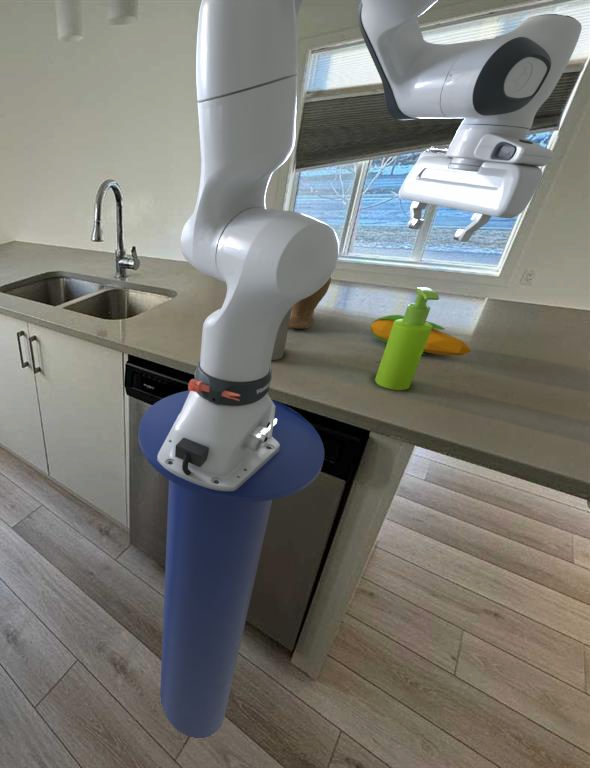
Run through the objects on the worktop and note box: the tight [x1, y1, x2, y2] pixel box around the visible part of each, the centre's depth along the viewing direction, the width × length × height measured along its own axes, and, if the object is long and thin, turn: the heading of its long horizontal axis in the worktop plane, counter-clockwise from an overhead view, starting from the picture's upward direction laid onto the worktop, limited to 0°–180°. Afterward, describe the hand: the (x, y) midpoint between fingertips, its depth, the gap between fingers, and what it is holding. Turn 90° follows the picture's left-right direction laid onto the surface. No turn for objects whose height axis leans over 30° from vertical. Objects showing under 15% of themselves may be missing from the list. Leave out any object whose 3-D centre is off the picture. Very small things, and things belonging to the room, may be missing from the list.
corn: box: [370, 314, 472, 357], centre depth 93 cm, size 7×8×20 cm
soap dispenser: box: [374, 287, 440, 391], centre depth 78 cm, size 6×7×20 cm
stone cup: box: [288, 276, 332, 330], centre depth 111 cm, size 15×12×15 cm
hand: (435, 234), depth 74 cm, fingers open, 8 cm apart
